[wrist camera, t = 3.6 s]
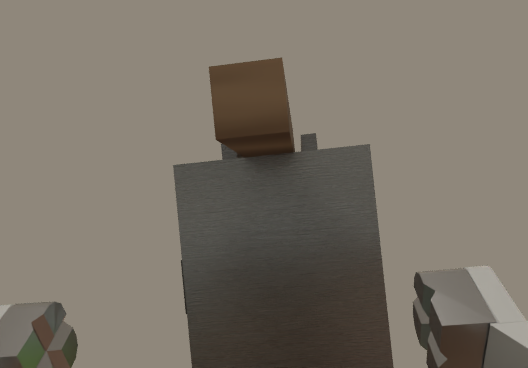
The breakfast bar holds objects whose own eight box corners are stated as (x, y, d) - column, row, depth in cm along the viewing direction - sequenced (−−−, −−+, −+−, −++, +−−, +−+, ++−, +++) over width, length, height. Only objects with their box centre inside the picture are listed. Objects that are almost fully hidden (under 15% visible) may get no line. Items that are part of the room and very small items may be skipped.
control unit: (417, 590, 26) (367, 127, 26) (200, 595, 27) (159, 150, 27) (380, 463, 38) (347, 148, 38) (231, 470, 39) (202, 163, 39)
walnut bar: (289, 131, 18) (282, 57, 18) (215, 139, 18) (208, 66, 18) (296, 164, 38) (292, 129, 38) (261, 168, 38) (257, 133, 38)
